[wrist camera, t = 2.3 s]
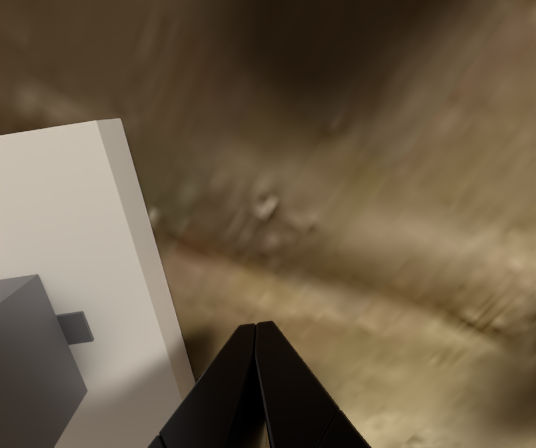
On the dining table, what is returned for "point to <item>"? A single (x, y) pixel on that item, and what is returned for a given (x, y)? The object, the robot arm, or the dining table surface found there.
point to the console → (95, 276)
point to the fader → (34, 368)
